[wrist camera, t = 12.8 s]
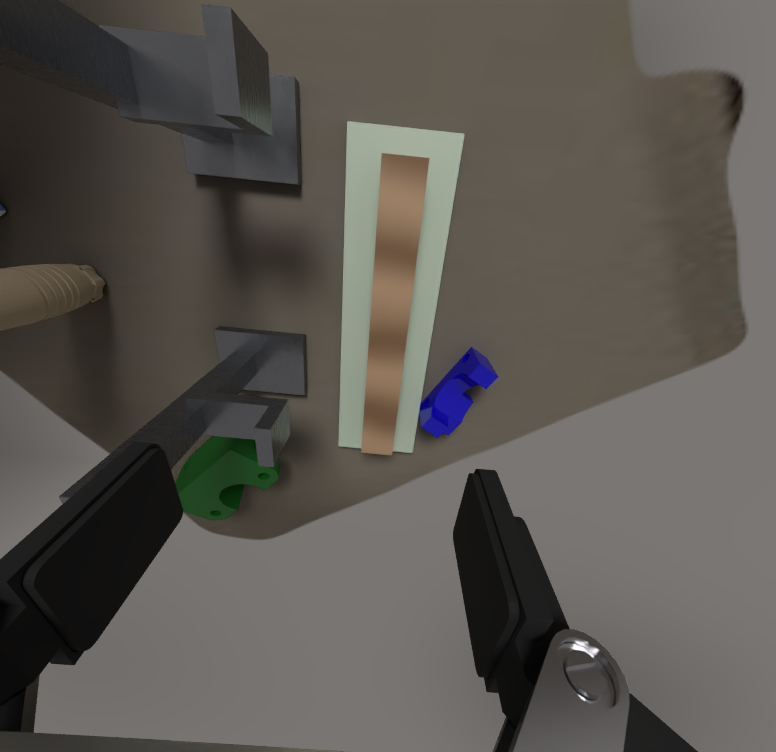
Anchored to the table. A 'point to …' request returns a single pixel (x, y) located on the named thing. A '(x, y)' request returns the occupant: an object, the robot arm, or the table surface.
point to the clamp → (221, 477)
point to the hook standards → (203, 157)
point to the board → (359, 266)
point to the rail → (392, 293)
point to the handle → (45, 292)
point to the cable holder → (455, 393)
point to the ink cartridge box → (2, 210)
